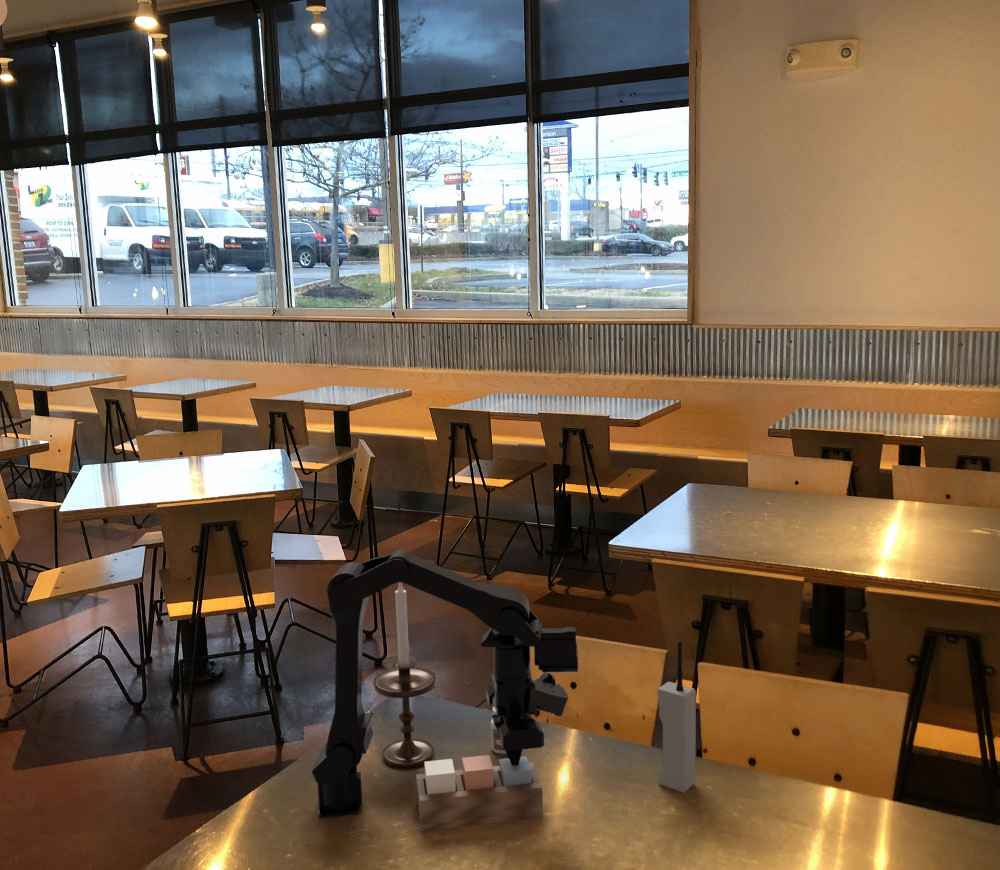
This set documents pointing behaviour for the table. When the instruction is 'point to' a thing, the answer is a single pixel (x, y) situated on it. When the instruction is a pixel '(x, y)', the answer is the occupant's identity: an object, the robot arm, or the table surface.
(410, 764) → the candlestick
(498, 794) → the key housing
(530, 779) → the key slate
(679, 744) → the vintage mobile phone
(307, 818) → the table surface
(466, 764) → the key terracotta
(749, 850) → the table surface
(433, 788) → the key white
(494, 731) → the pill bottle
